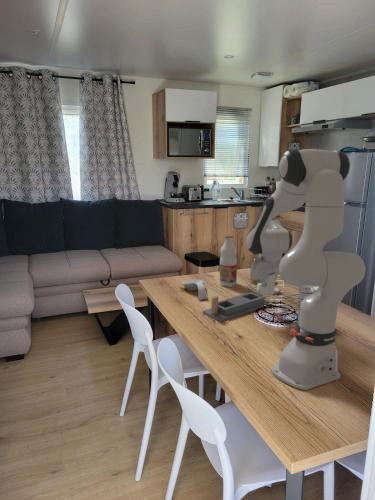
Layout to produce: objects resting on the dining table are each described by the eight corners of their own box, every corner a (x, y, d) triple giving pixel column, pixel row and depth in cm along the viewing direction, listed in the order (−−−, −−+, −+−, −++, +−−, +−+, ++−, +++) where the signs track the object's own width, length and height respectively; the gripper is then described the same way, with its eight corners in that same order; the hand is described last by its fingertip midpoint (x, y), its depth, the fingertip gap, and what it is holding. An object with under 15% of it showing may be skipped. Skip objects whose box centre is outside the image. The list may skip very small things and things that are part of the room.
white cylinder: (268, 295, 160) (269, 273, 158) (261, 293, 163) (262, 271, 161) (274, 293, 162) (275, 272, 160) (267, 291, 165) (268, 270, 163)
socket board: (220, 321, 156) (220, 301, 153) (202, 312, 165) (202, 294, 163) (272, 304, 175) (273, 286, 172) (253, 297, 184) (254, 280, 182)
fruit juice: (219, 281, 209) (220, 233, 203) (236, 281, 208) (237, 233, 202) (219, 286, 200) (220, 236, 194) (236, 287, 199) (237, 236, 193)
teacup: (252, 288, 197) (252, 277, 196) (271, 286, 201) (271, 275, 200) (263, 295, 186) (264, 284, 185) (284, 293, 190) (284, 281, 189)
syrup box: (312, 324, 153) (315, 291, 149) (298, 322, 154) (300, 290, 151) (311, 318, 158) (313, 286, 155) (296, 317, 159) (299, 286, 156)
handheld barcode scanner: (180, 286, 201) (179, 274, 200) (200, 284, 205) (200, 272, 203) (192, 301, 179) (192, 287, 178) (214, 299, 182) (214, 285, 181)
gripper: (258, 260, 150) (257, 292, 153) (290, 253, 162) (288, 283, 165) (247, 257, 155) (246, 288, 158) (278, 251, 167) (277, 280, 170)
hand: (268, 285), depth 162 cm, fingers closed on white cylinder, 4 cm apart
